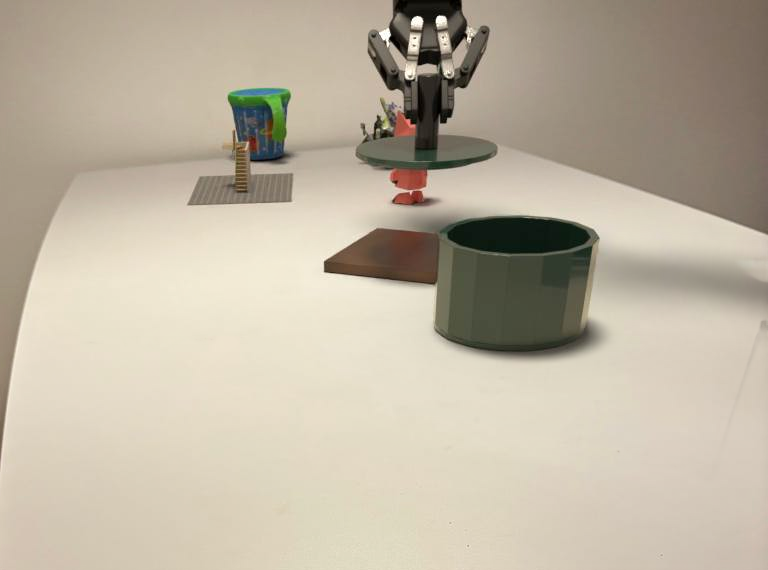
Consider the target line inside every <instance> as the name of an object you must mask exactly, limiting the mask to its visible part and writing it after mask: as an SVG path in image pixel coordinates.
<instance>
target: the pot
mask: <svg viewBox="0 0 768 570" xmlns="http://www.w3.org/2000/svg"><path fill="white" fill-rule="evenodd" d="M437 233H438V249H437V266H436V283H435V284H434V285H435V286H434V301H433V302H434V303H433V326H434V329H435V331H436V332H437V333H438V334H440V336H442V337H444V338H446V339H448V340H450V341H452V342H455V343H458V344H461V345H464V346H468V347H473V348H476V349H484V350H492V351H504V352H511V351H512V352H521V351H522V352H524V351H525V352H527V351H538V350H547V349H551V348H556V347H560V346H563V345H566V344H569V343H571V342H573V341H575V340H577V339H578V338H580V337H581V336H582V334H583V333H584V331H585V326H586V325H587V322H588V316H589V309H590V303H591V297H592V290H593V284H594V278H595V271H596V266H597V265H596V264H597V260H598V259H597V258H598V252H599V246H600V240H601V238H600V236H599V234H598V233H597V232H596V230H595V229H594V228H592V227H590V226H587V225H584V224H582V223H580V222H577V221H573V220H568V219H562V218H559V217H552V216H551V217H550V216H538V215H537V216H536V215H525V214H521V215H519V214H517V215H515V214H512V215H490V216H481V217H474V218H467V219H463V220H460V221H456V222H453V223H448V224H447V225H446V226H444V227H443V228H442V229H440V230H439V231H438V232H437Z"/></svg>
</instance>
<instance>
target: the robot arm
mask: <svg viewBox="0 0 768 570" xmlns="http://www.w3.org/2000/svg"><path fill="white" fill-rule="evenodd" d="M388 24H389V25H388V28H386V29H384V30H383V31H378V30H377V29H375V28H374V29H370V30H369V31H368V34H367V54H368V57H369V58H370V59H371V62H372V63H373V65H374V67H375V69H376V71H377V72H378V75H379V76H380V77H381V80H382V81H383V84H384V85H385V87H386V89H387V90H389V91H390V92H392V91H396V90H399V91H401V93H402V97H403V110H404V117H405V119H410V125H415V124H417V117H418V81H417V75H418V73H417V72H418V67H420V66H424V65H432V66H435V69H436V73H439V74H442V80H441V98H440V118H439V125H442V124H443V125H445V124H447V123H448V119H452V118H453V115H454V110H455V90H456V89H457V88H459V89H466V88H467V87H468V86H469V84H470V82H471V80H472V78H473V76H474V74H475V73H476V70H477V68H478V66H479V64H480V62H481V60H482V58H483V56H484V54H485V52H486V50H487V45H488V43H489V42H488V41H489V37H490V32H491V29H490V27H489V26H487V25H480V26H479V28H476V27H472V26H470V25H468V20H467V18H466V17H465V15H464V13H463V0H392V18H391V20H390V22H389V23H388ZM463 41H465V42H466V43H465V49H466V54H465V56H464V58H463V60H462V62H461V64H460V66H459V67H456V68H455V65H454V60H453V53H454V52H455V51H456V49H457V48H458V47H459V46H460V44H461V43H462V42H463ZM391 44H392V45H393V46H394V48H395V49H396V50H397V51H398V52H399V53H400V54H401V56H402V57H403V58H404V59H405V60H406V61H405V67H404V68H405V69H404V70H401V69H400V68H399V66H398V64H397V62H396V60H395V58H394V57H393V55H392V53H391V52H390V46H391Z"/></svg>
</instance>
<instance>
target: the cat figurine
mask: <svg viewBox="0 0 768 570" xmlns="http://www.w3.org/2000/svg"><path fill="white" fill-rule="evenodd" d="M407 135H415V125H410V119H405V117H404V116H403V115H402V114H401V112H400V111H399V110H398V112H397V119H396V126H395V130H394V137H396V136H407ZM389 176H390V177H389V182H391V183H392V184H394V187H395V188H397V189H401V190H404V191H405V190H406V192H399V193H398V194H396V195H395V196H394V197H393V198H392V200H391V202H392V201H393V202H394V204H398V203H402V204H401V205H412V203H413V204H414V202H415V201H417V202H416V203H423V202H425V198H424V194H423V191H422V190H421V189H424V188H426V187H427V183H428V182H427V181H428V170H404V169H395V168H393V170H392V171H391V172H390V175H389ZM410 191H412V192H410ZM421 201H422V202H421ZM393 202H392V203H393Z"/></svg>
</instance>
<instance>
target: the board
mask: <svg viewBox="0 0 768 570" xmlns="http://www.w3.org/2000/svg"><path fill="white" fill-rule="evenodd" d="M438 233H439V232H428V231H427V232H426V231H417V230H416V231H415V230H404V229H395V228H394V229H393V228H381V227H375V228H374V229H373V230H372V231H370V232H368V233H366V234H365V235H363V236H361V237H360V238H359V239H357V240H355V241H354V242H353V243H350V244H349V245H347V246H346V247H344V248H343V249H341V250H339V251H337V252H336V253H335V254H333V255H331V256H330V257H328V258H326V259H325V260H324V261H323V272H326V273H335V274H343V275H353V276H360V277H361V276H362V277H371V278H378V279H388V280H398V281H406V282H416V283H425V284H432V285H435V283H436V266H437V249H438Z"/></svg>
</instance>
